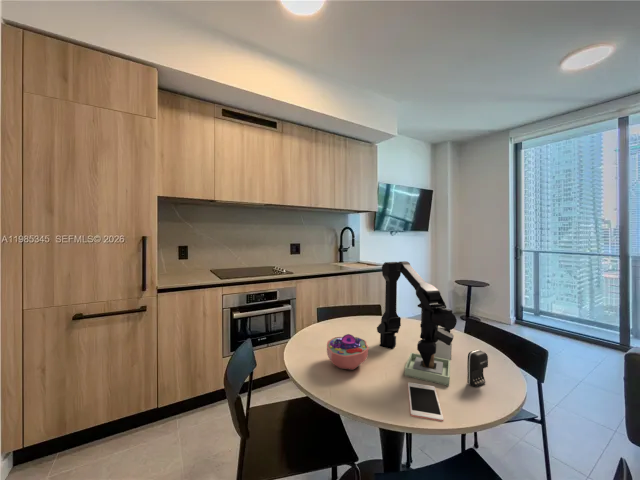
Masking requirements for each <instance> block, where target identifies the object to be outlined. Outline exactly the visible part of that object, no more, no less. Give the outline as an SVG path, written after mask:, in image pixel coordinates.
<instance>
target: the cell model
mask: <svg viewBox="0 0 640 480" xmlns="http://www.w3.org/2000/svg"><path fill="white" fill-rule="evenodd" d="M369 348H370V347H369V346H368V344H367V341H366V340H365V339H363V338H360V337H359V336H358V337H357V336H354V335H352V334H349V333H348V334H347V333H346V334H344V335H343V336H336V337H333V338H330V339H329V340H327V344H326V354H327V356H328V359H329V360H330V362H331V363H332V364H333V365H334V366H336V368H339V369H342V370H355V369H357V367H359V366H360V365H361V364H363V363H364V362H365V361H366V360H367V359H368V355H369Z"/></svg>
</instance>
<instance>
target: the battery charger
mask: <svg viewBox="0 0 640 480" xmlns="http://www.w3.org/2000/svg"><path fill="white" fill-rule="evenodd" d="M488 356H489V355H488V354H487V353H486V352H485V351H483V350H480V349H475V350H472V351H470V352H468V355H467V378H466V379H467V381H466V383H467V384H468V385H470V386H472V387H479V386H483V385H485V384H486V379H485V377H484V369H486V368H488V367H489V357H488Z"/></svg>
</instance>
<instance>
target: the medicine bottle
mask: <svg viewBox="0 0 640 480" xmlns="http://www.w3.org/2000/svg"><path fill="white" fill-rule="evenodd" d="M438 328H440V329H444V328H443V327H440V326H438ZM452 345H453V344H452V342H451V345H450V346H449V345H447V344H446V343H444V342H442V341H440V340H438V341H437V342H436V353H435V354H434V357H437V358H442V359H448V360H450V361H451V360H452Z"/></svg>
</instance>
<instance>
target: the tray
mask: <svg viewBox="0 0 640 480" xmlns="http://www.w3.org/2000/svg"><path fill="white" fill-rule="evenodd" d="M404 376H405V377H409V378H413V379H418V380H421V381H426V382H430V383H435V384H439V385H442V386H448V387H449V386H450V379H451V360H448V359H442V358H437V357H434V369H430V368H426V367H423V359H422V357H421V355H420V353H415V352H410V354H409V356H408V359H407V362H406V364H405V366H404Z"/></svg>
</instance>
